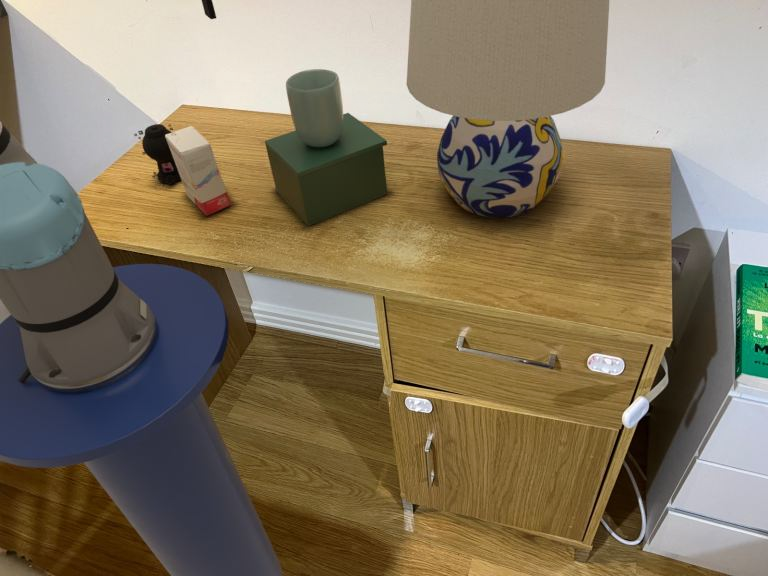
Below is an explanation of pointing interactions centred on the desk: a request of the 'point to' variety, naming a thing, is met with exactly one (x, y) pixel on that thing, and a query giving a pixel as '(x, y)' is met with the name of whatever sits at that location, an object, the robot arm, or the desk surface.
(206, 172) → the ink box
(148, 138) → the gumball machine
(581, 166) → the desk surface
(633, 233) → the desk surface
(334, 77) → the cup
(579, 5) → the table lamp
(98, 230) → the desk surface
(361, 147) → the lid
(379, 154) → the chest
